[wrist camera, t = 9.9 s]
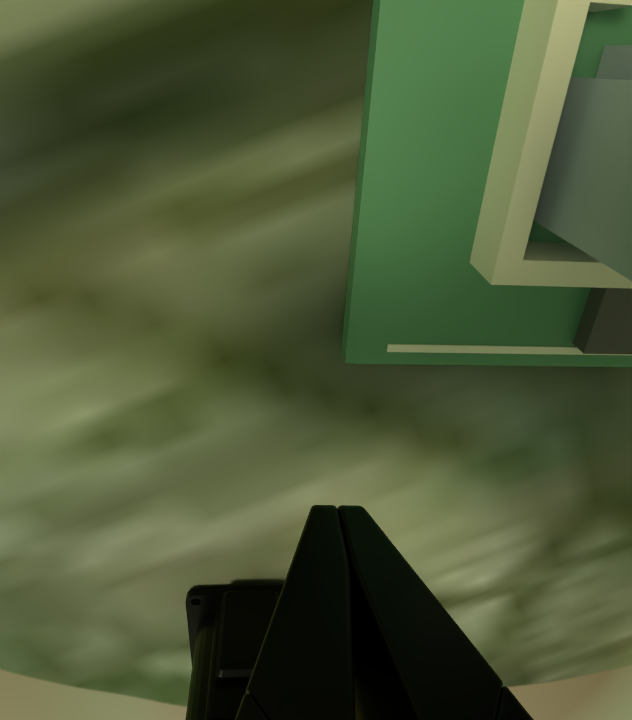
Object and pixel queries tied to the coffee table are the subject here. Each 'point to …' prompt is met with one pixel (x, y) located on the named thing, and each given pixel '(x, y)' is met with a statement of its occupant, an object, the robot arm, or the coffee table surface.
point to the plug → (594, 165)
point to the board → (476, 190)
